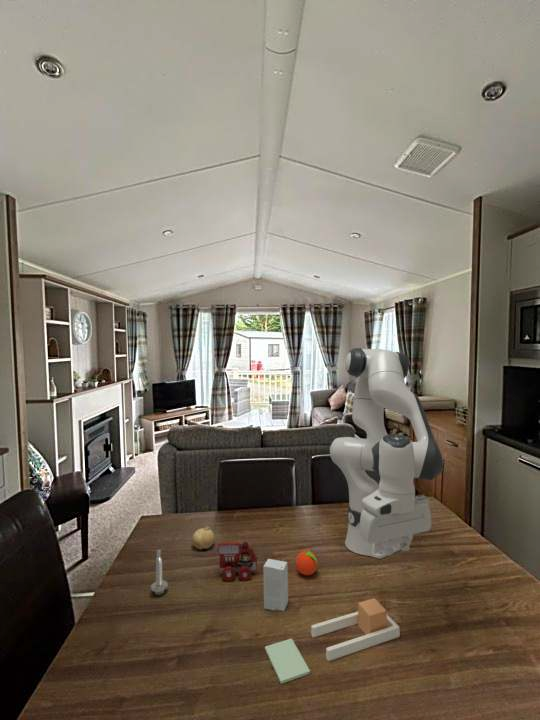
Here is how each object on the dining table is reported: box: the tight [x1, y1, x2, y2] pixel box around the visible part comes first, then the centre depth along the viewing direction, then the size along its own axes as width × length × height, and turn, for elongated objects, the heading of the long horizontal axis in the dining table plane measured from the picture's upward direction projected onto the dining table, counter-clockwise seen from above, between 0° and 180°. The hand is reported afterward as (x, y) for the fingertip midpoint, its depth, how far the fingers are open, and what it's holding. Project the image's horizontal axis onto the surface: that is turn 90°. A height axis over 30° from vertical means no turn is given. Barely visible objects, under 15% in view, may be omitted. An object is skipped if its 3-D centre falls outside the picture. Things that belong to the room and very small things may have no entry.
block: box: [357, 597, 388, 635], centre depth 94 cm, size 5×5×6 cm
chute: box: [310, 611, 401, 662], centre depth 93 cm, size 20×8×3 cm, turn 111°
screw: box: [150, 549, 169, 596], centre depth 110 cm, size 13×5×5 cm
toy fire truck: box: [217, 540, 258, 582], centre depth 119 cm, size 7×12×10 cm, turn 93°
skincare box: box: [262, 558, 289, 612], centre depth 104 cm, size 6×4×12 cm
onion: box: [191, 524, 216, 551], centre depth 136 cm, size 8×8×7 cm
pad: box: [264, 637, 312, 685], centre depth 87 cm, size 10×10×1 cm
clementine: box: [295, 550, 319, 576], centre depth 119 cm, size 8×7×7 cm
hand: (396, 552), depth 96 cm, fingers open, 4 cm apart
